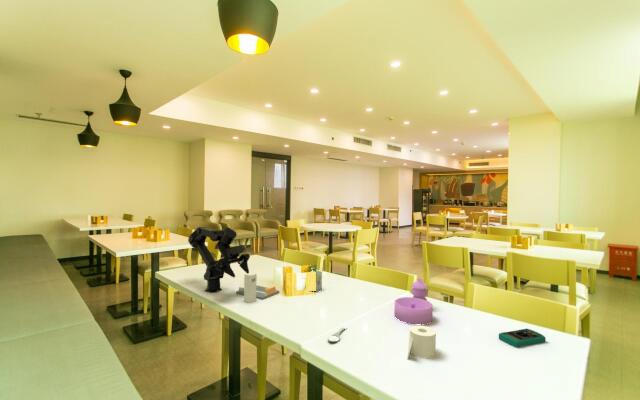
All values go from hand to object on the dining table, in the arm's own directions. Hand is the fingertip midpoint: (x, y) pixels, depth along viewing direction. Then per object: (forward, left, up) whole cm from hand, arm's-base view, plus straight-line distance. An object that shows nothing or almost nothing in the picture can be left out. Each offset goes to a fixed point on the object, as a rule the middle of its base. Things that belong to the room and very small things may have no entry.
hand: (241, 275), depth 150 cm
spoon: (+58, -7, -12) cm, 59 cm away
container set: (+77, +27, -12) cm, 82 cm away
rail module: (+6, 0, -12) cm, 13 cm away
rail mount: (0, +12, -12) cm, 17 cm away
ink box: (+23, +32, -12) cm, 41 cm away
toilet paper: (+86, -7, -12) cm, 87 cm away
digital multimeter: (+116, +22, -12) cm, 118 cm away
